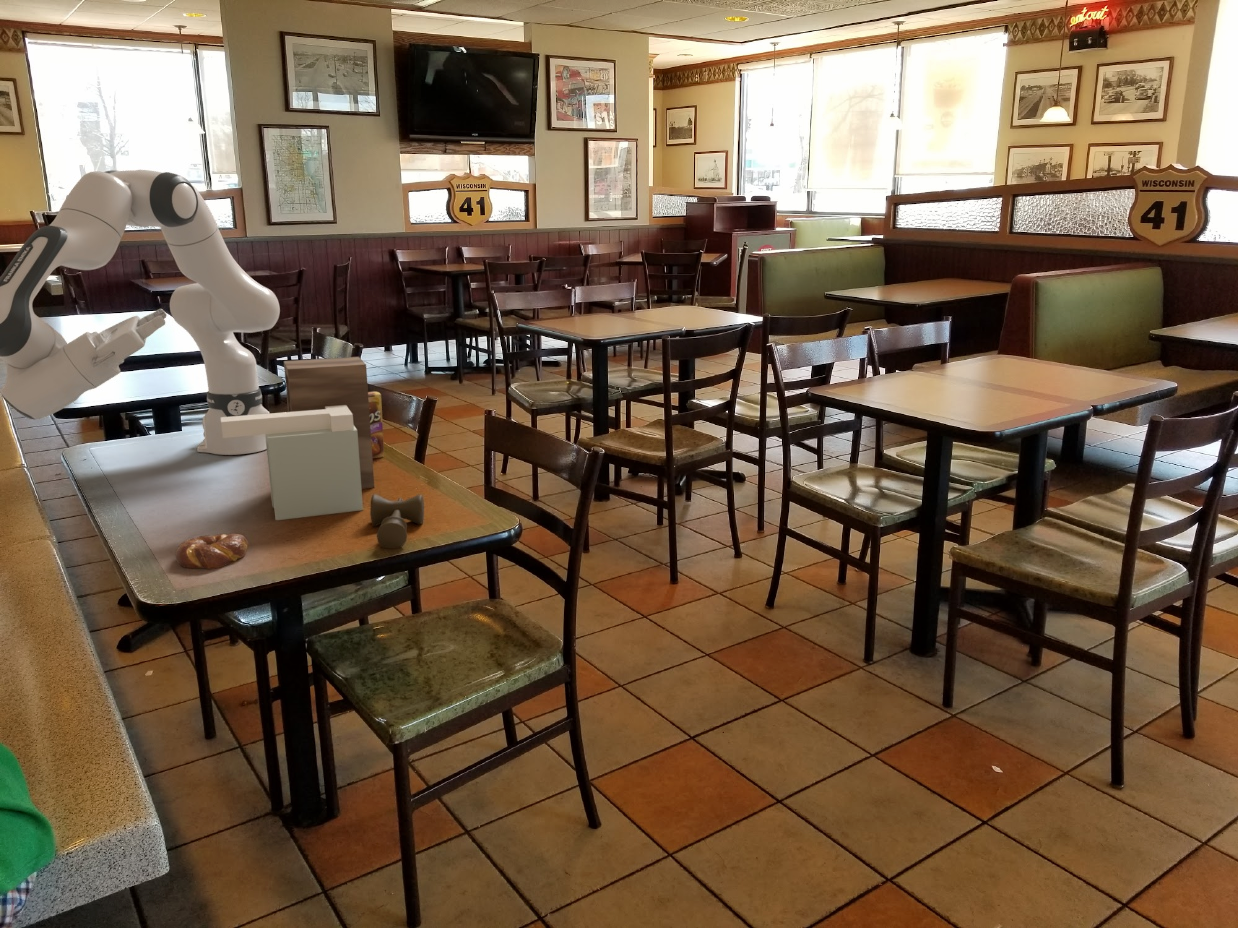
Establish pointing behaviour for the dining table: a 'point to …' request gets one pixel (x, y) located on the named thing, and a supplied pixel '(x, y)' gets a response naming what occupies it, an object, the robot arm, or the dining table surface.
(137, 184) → the robot arm
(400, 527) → the kendama
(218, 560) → the pretzel
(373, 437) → the candy box
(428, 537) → the dining table surface
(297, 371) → the tall stand
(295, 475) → the pale green rectangular block
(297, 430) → the T-piece
